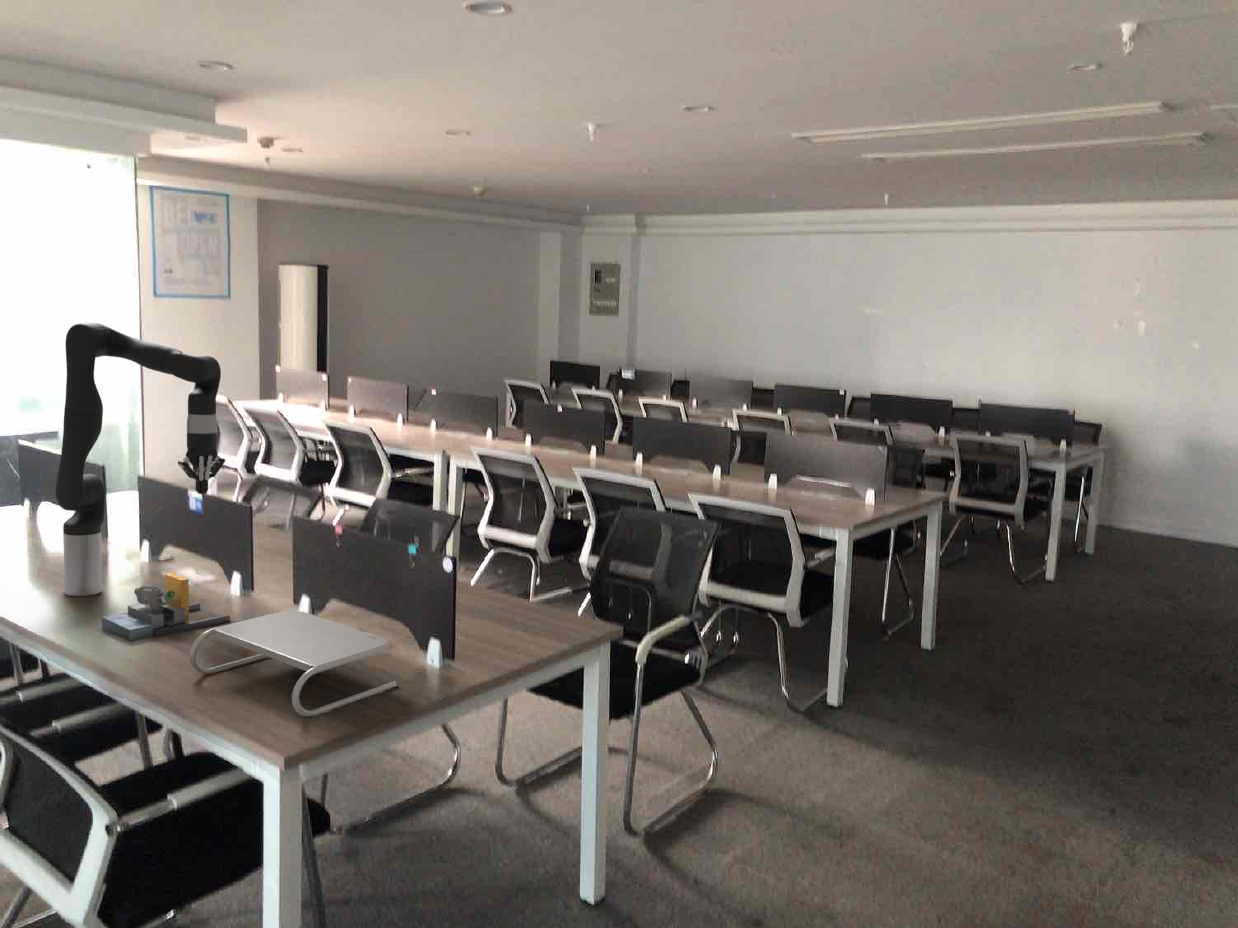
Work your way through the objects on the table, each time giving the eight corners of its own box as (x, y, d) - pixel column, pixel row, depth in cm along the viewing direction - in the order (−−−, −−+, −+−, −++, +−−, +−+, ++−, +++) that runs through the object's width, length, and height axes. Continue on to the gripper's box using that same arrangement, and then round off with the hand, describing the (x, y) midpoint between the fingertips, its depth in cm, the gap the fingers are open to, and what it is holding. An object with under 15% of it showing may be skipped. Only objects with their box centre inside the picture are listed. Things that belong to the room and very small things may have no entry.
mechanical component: (172, 629, 251) (168, 592, 249) (137, 626, 253) (132, 589, 251) (180, 624, 254) (175, 588, 252) (144, 621, 256) (139, 585, 254)
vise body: (100, 627, 250) (100, 608, 249) (197, 607, 270) (197, 590, 270) (131, 642, 240) (131, 622, 240) (229, 620, 261) (229, 602, 260)
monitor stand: (398, 688, 223) (399, 641, 221) (294, 725, 200) (295, 674, 198) (293, 649, 243) (293, 607, 242) (187, 679, 220) (187, 633, 219)
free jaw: (149, 619, 258) (149, 574, 256) (168, 615, 262) (168, 571, 260) (174, 629, 251) (173, 583, 249) (192, 625, 255) (192, 580, 253)
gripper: (216, 427, 275) (216, 489, 278) (171, 430, 265) (171, 493, 267) (232, 430, 271) (231, 493, 273) (186, 433, 260) (186, 498, 263)
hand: (201, 493), depth 270 cm, fingers closed
